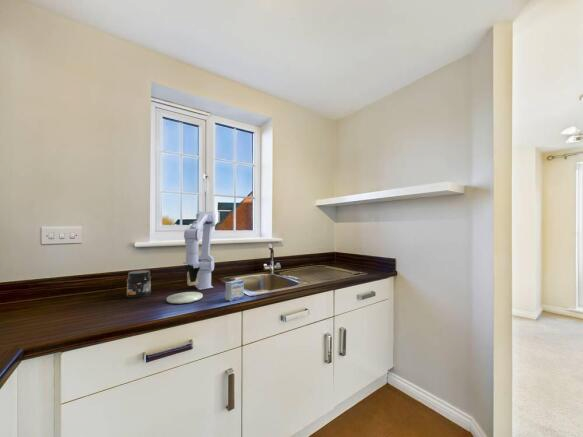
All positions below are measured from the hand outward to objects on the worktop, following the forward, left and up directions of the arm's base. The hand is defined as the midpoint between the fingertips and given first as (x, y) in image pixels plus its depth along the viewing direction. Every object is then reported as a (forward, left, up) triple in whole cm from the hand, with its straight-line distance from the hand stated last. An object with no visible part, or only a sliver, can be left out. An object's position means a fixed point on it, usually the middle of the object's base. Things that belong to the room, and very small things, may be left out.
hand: (191, 280), depth 120 cm
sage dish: (-1, -3, -9) cm, 9 cm away
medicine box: (+12, +17, -9) cm, 23 cm away
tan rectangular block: (0, 0, -2) cm, 2 cm away
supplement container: (-22, -21, -9) cm, 31 cm away
